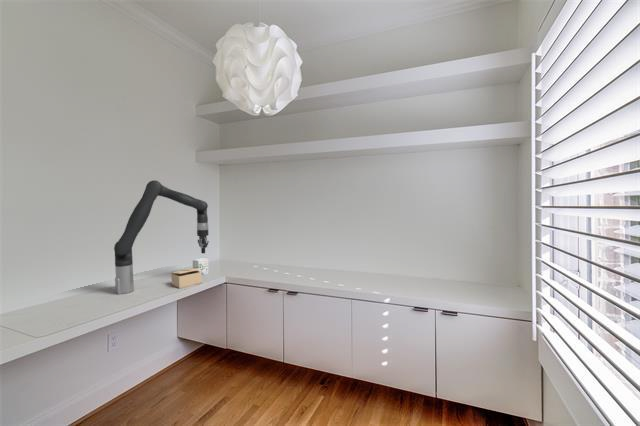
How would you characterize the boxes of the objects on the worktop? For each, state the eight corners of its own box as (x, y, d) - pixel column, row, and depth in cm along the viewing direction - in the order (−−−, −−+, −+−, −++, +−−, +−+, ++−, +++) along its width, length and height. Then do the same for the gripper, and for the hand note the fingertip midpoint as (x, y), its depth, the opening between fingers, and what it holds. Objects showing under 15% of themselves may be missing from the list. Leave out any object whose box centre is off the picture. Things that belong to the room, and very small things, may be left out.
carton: (179, 288, 192) (179, 276, 191) (172, 284, 200) (171, 273, 200) (202, 283, 202) (201, 272, 202) (193, 280, 211) (193, 269, 211)
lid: (179, 273, 191) (179, 272, 191) (171, 273, 200) (171, 272, 200) (201, 269, 202) (201, 268, 202) (193, 269, 211) (193, 268, 211)
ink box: (198, 275, 223) (198, 260, 222) (192, 274, 228) (192, 259, 228) (208, 273, 230) (208, 258, 229) (202, 271, 235) (202, 257, 234)
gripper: (193, 228, 210) (194, 252, 210) (201, 230, 201) (202, 255, 201) (203, 228, 215) (204, 251, 216) (212, 229, 206) (212, 253, 207)
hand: (203, 253), depth 209 cm, fingers closed
